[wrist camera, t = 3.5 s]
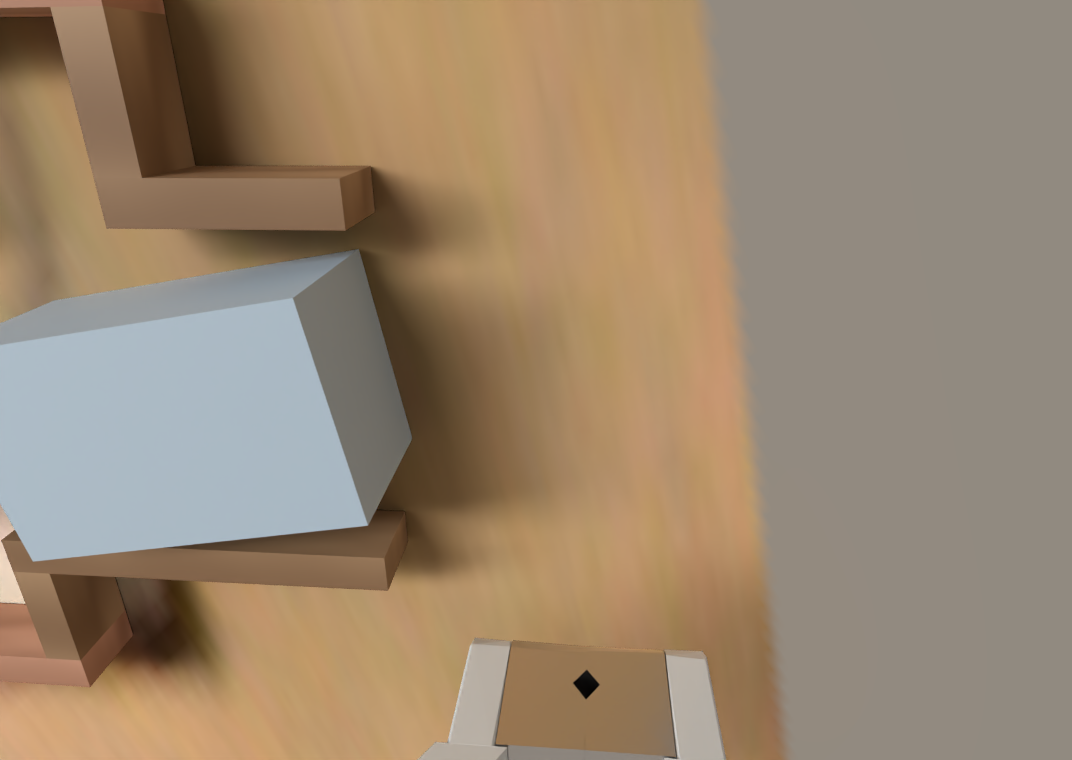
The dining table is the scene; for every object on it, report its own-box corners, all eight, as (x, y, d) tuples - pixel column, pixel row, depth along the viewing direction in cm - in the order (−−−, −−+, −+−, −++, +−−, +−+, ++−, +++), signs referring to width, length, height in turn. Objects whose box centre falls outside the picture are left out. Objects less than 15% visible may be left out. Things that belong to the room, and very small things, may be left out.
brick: (59, 298, 17) (-83, 358, 14) (361, 247, 16) (293, 298, 13) (139, 468, 19) (32, 561, 16) (414, 434, 18) (367, 526, 15)
